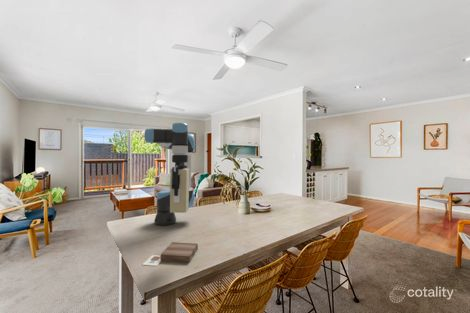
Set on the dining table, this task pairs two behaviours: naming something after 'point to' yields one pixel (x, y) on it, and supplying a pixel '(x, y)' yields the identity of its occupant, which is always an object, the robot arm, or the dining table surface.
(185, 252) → the walnut plinth
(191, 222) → the dining table surface
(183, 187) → the toy refrigerator
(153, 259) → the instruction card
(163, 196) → the robot arm
